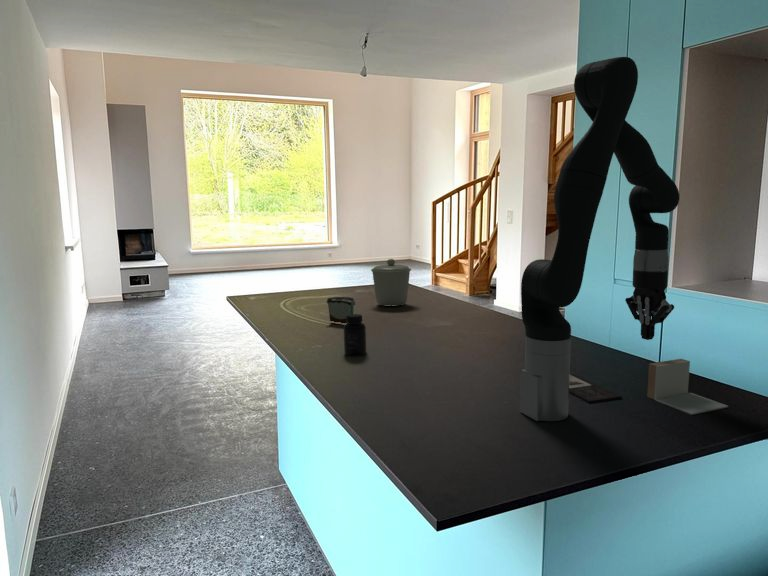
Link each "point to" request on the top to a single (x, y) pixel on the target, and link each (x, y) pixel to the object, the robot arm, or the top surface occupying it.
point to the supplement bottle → (354, 336)
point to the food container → (340, 308)
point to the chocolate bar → (589, 390)
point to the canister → (391, 283)
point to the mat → (691, 403)
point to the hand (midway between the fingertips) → (647, 338)
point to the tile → (668, 378)
